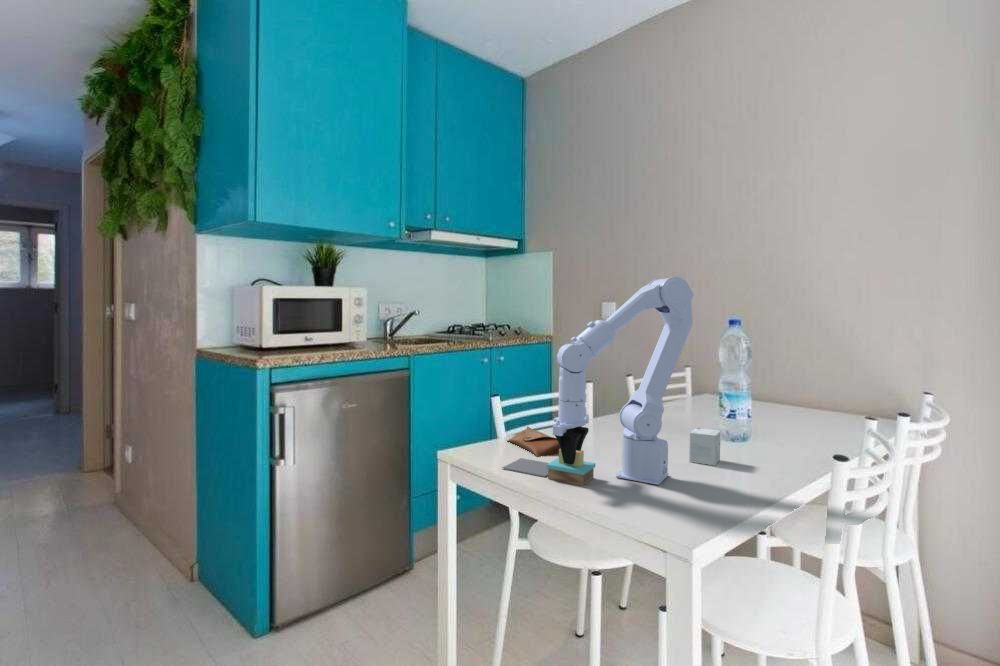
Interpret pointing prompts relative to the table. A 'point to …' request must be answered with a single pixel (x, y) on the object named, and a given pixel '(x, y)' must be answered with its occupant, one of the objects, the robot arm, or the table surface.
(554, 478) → the box
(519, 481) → the table surface
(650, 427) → the robot arm
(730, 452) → the table surface
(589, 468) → the lid
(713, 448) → the skincare box
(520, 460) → the mat
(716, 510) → the table surface
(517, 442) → the sunglasses case
